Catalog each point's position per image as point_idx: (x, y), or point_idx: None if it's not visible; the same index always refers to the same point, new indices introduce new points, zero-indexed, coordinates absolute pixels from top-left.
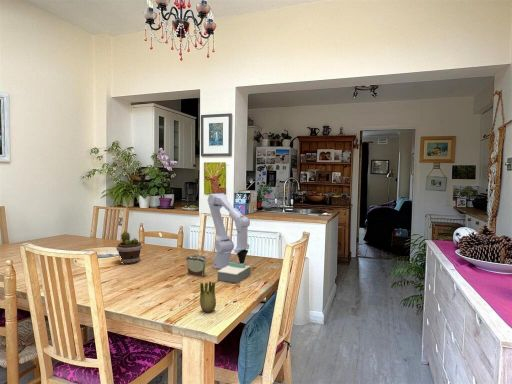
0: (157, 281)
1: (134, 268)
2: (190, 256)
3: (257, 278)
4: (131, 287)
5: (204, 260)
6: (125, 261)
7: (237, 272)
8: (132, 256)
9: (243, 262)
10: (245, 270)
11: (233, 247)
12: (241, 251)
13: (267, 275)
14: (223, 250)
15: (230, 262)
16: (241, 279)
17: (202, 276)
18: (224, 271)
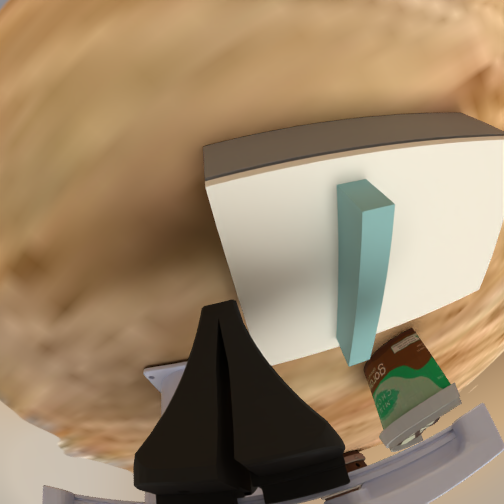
0: (464, 355)
1: (378, 434)
2: (405, 444)
3: (250, 14)
4: (497, 344)
5: (459, 395)
6: (362, 455)
7: (494, 155)
8: (356, 466)
9: (230, 309)
10: (358, 145)
11: (154, 501)
12: (337, 470)
13: (85, 8)
14: (260, 489)
15: (363, 356)
16: (401, 117)
17: (414, 331)
18: (485, 254)
